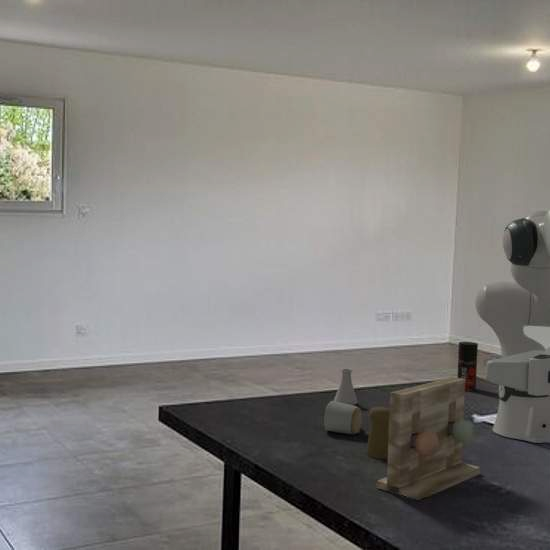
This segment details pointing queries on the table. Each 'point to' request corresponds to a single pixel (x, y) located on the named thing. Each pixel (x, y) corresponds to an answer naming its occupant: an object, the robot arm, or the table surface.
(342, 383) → the flask
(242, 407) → the table surface
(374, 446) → the cork
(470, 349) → the deodorant
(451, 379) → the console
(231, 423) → the table surface
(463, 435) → the button sage
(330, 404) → the ceramic mug
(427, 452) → the button terracotta
